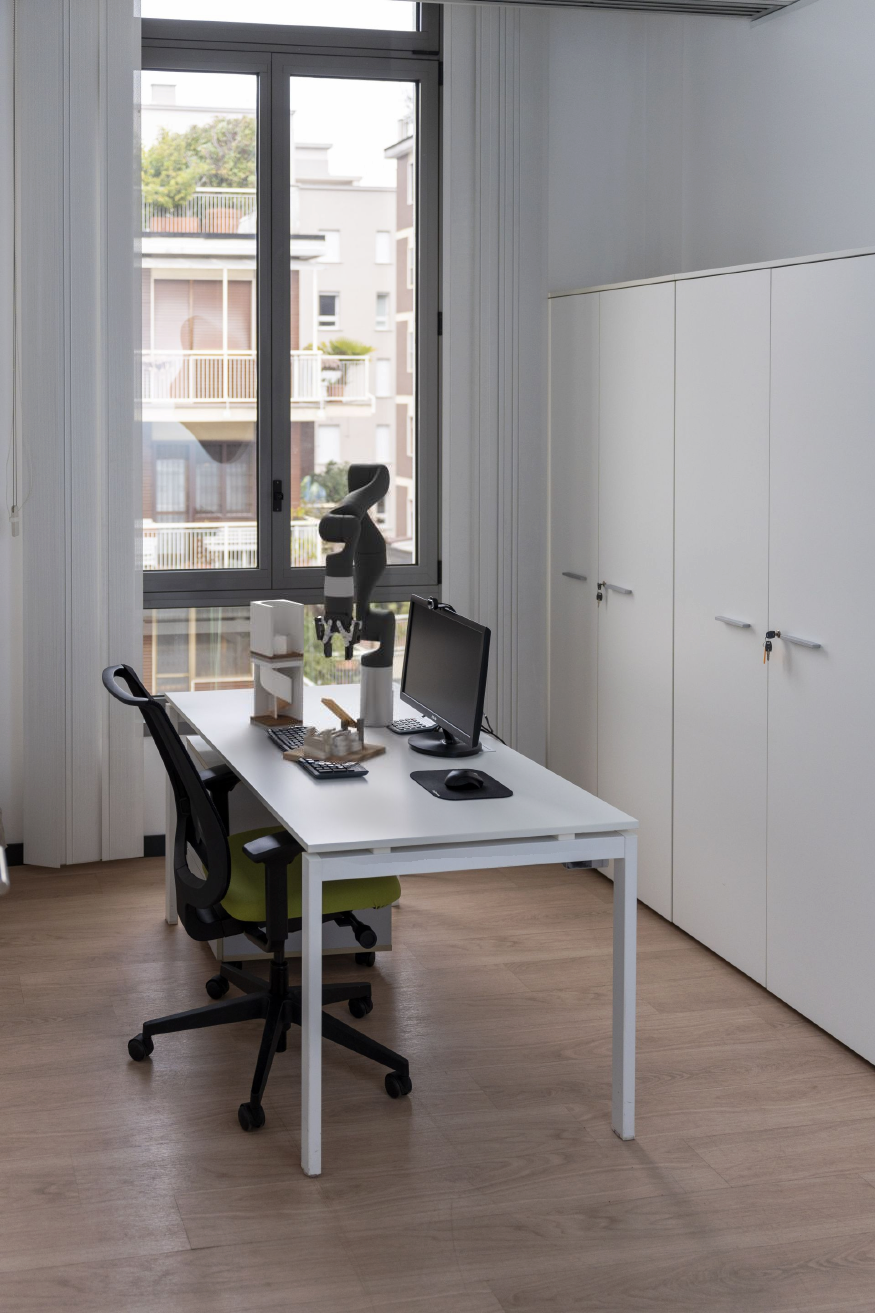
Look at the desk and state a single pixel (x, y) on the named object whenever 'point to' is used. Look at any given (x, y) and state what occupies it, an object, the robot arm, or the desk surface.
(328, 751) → the wooden jig fixture
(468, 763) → the desk surface
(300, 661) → the display case
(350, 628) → the robot arm
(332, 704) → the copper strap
